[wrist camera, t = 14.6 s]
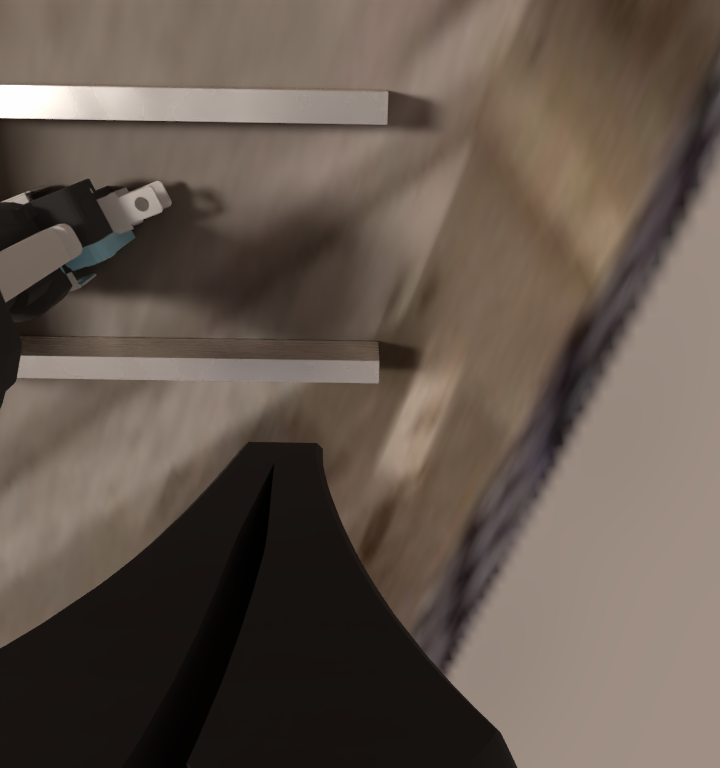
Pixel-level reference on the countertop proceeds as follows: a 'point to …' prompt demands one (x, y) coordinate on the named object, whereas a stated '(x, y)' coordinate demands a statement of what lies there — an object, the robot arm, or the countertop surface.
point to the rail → (180, 353)
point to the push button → (60, 250)
